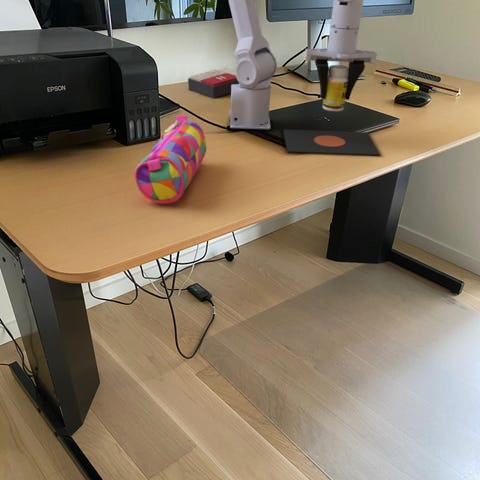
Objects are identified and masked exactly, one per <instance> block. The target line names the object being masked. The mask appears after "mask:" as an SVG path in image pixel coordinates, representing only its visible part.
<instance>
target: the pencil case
mask: <svg viewBox="0 0 480 480" xmlns="http://www.w3.org/2000/svg"><path fill="white" fill-rule="evenodd" d="M206 153H207V140H206V136H205V133H204V131H203V129H202V128H201V126H200V125H199V124H198V123H196V122H193V121H190V120H188V115H185V114H184V115H176V116H175V121H174V122H172V123H171V124H170V126H169V127H168V128H166V129H165V130H164V134H163V135H162V136H161V139H160V140H159V141H158V142H157V143H156V144H155V145H154V146H153V147H152V150H151V151H150V153H149V154H148V155H147V156H145V158H143V159H142V160H141V161H140V162H139V163H138V164H137V165H136V166H135V169H134V175H133V176H134V180H135V184H136V186H137V187H138V190H139V191H140V193H141V194H142V196H144V197H145V198H146V199H147V200H149V201H151V202H152V203H157V204H162V205H167V204H173V203H175V202H177V201H178V200H180V199H181V197H182V196H183V195H184V193H185V190H186V189H187V188H188V186H189V184H190V183H191V182H192V180H193V179H194V176H195V174H196V172H197V171H198V169H199V168H200V166H201V165H202V163H203V161H204V158H205V156H206Z"/></svg>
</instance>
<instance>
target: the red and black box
mask: <svg viewBox="0 0 480 480" xmlns="http://www.w3.org/2000/svg"><path fill="white" fill-rule="evenodd" d="M187 84H188V85H187V86H188V87H187V88H188V90H189V91H192V92H195V93H199V94H201V95H203V96H207V97H210V98H212V99H215V98H219V97H222V96H225V95H229V94H231V85H233V84H240V83H239V82H238V80H237V78H236V75H235V69H234V68H233V69H232V68H229V67H222V68H219V69H212V70H209V71H204V73H203V72H201V73H197V74H194V75H190V76H189V78H187Z"/></svg>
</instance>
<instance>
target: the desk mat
mask: <svg viewBox="0 0 480 480" xmlns="http://www.w3.org/2000/svg"><path fill="white" fill-rule="evenodd" d="M282 132H283V137H284V142H285V147H286V153H287V154H308V155H310V154H311V155H314V154H315V155H334V156H335V155H337V156H338V155H339V156H366V157H381V153H380V152H379V150H378V148H377V146H376V145H375V143H374V141H373V140H372V138H371V136H370V134H369V133H368V132H365V131H337V130H336V131H335V130H312V129H283V130H282Z"/></svg>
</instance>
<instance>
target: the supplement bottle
mask: <svg viewBox="0 0 480 480" xmlns="http://www.w3.org/2000/svg"><path fill="white" fill-rule="evenodd" d="M348 69H349V66H346V65H343V64H342V65H341V64H333V65H329V71H328V76H327V82H326V94H325V99H322V109H323V110H325V111H328V112H342V111H344V109H345V105H346V99H345V98H346V92H347V86H348Z"/></svg>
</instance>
